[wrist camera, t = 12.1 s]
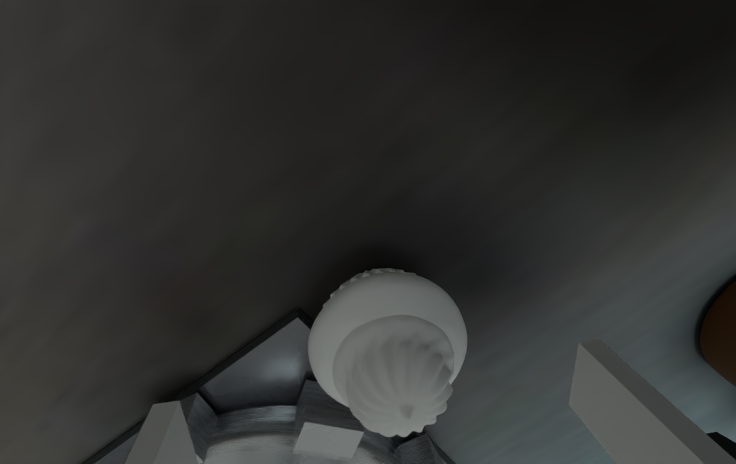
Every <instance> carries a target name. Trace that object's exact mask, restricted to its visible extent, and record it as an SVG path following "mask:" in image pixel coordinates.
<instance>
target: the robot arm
mask: <svg viewBox="0 0 736 464" xmlns="http://www.w3.org/2000/svg"><path fill="white" fill-rule="evenodd" d="M569 406H570V407H571V408H572V409H573V411H574V412H575V413H576V414H577V416H578V417H579V418H580V419H581V421H582V422H583V423H584V424H585V426H586V427H587V428H588V429H589V431H590V432H591V433H592V434H593V436H594V437H595V438H596V439H597V441H598V442H599V443H600V444H601V446H602V447H603V448H604V449H605V451H606V452H607V453H608V454H609V455H610V457H611V458H612V459H613V460H614V462H615V463H616V464H736V443H735V442H733V441H731V440H730V439H728V438H726V437H724V436H723V435H721V434H719V433H718V432H713V433H708V434H706V433H704V432H703V431H702V430H701V429H700V428H699V427H698V426H697V425H695V424H694V423H693V422H692V421H691V420H690V419H689V418H688V417H686V416H685V415H684V414H683V413H682V412H681V411H680V410H679V409H677V408H676V407H675V406H674V405H673V404H672V403H671V402H669V401H668V400H667V399H666V398H665V397H664V396H663V395H662V394H660V393H659V392H658V391H657V390H656V389H655V388H654V387H653V386H651V385H650V384H649V383H648V382H647V381H646V380H645V379H644V378H642V377H641V376H640V375H639V374H638V373H637V372H636V371H635V370H633V369H632V368H631V367H630V366H629V365H628V364H627V363H625V362H624V361H623V360H622V359H621V358H620V357H619V356H618V355H616V354H615V353H614V352H613V351H612V350H611V349H610V348H609V347H607V346H606V345H605V344H604V343H603V342H602V341H601V340H593V341H586V342H579V345H578V351H577V357H576V363H575V368H574V374H573V380H572V386H571V392H570V398H569ZM124 464H199V463H198V460H197V457H196V453H195V450H194V447H193V443H192V440H191V437H190V434H189V430H188V427H187V424H186V421H185V417H184V414H183V411H182V407H181V404H180V401H173V402H166V403H159V404H153V406H152V408H151V410H150V412H149V414H148V416H147V418H146V420H145V422H144V424H143V426H142V428H141V430H140V432H139V434H138V437H137V439H136V441H135V443H134V445H133V447H132V449H131V451H130V453H129V455H128V457H127V459H126V461H125V463H124Z"/></svg>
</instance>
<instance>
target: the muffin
mask: <svg viewBox="0 0 736 464" xmlns="http://www.w3.org/2000/svg"><path fill="white" fill-rule="evenodd" d="M330 297H331V298H330V299H329V300H328V301H327V302H326V303H324V304H323V309H322V310H321V312H320V313H319V315H318V316H317V318H316V320H315V322H314V324H313V326H312V328H311V331H310V335H309V340H308V356H309V361H310V365H311V368H312V371H313V373H314V375H315V378H316V379H317V381H318V383H319V384H320V386H321V387H322V388H323V390H324V391H325V392H326V393H327V394H328V395H330V396H331V397H332V398H333V399H335V400H336V401H338V402H340V403H341V404H343V405H345V406H347V407H349V408H350V411H351V412H352V414H353V415H354V416H355V417H356V418H357V419H358V420H360V422H361V424H362V425H363V426H364V427H365V428H367V429H368V430H370V431H372V432H377V433H380V434H382V435H384V436H386V437H392V436H395V435H396V434H397V435H399V436H401V437H406V436H408V435H409V434H410V433H411V432H412V431H416V432H419V433H420V432H422V430H423V428H424V426H425V425H431V424H434V423H435V422H436V415H439V414H442V413H443V412H445V410H446V409H447V403H446V400H447V399H448V398H449V397H450V396H451V394H452V392H453V389H452V387H451V383H452V382H453V381H454V379H455V378H456V376H457V375H458V373H459V371H460V369H461V367H462V364H463V362H464V359H465V355H466V350H467V332H466V327H465V324H464V320H463V318H462V315H461V313H460V311H459V309H458V307H457V305H456V304H455V302H454V301H453V300H452V298H451V297H450V296H449V295H448V294H447V293H446V292H445V291H444V290H443V289H442V288H440V287H439V286H438V285H436V284H435V283H433V282H431V281H430V280H428V279H425V278H423V277H420V276H417V275H416V274H415V273H409V272H404V270H400V269H392V268H379V269H372V270H371V271H368V270H366V271H365V272H364V273H359V274H357V275H356V276H354V277H352V278H351V279H349V280H347V281H346V282H344V283H343V284H341V285H340V288H339V289H337V290H336V291H334V292H333V293H332V294H331V295H330Z"/></svg>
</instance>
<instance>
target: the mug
mask: <svg viewBox="0 0 736 464" xmlns="http://www.w3.org/2000/svg"><path fill="white" fill-rule="evenodd" d="M700 346H701V350H702V353H703V355H704V357H705V359H706V361H707V362H708V363H709V364H710V365H711V366H712V368H713V369H715V370H716V371H717V372H718V373H719V374H720V375H721V376H723V377H724V378H725V379H727V380H728V381H729V382H730V383H732V384H733V385H735V386H736V280H735V281H734V282H733V283H732V284H730V285H729V286H728V287H727V288H726V289H725V290H724V291H723V292H722V293H721V294H720V295H719V296H718V297H717V299H716V300H715V301H714V303H713V304H712V305H711V307H710V308H709V310H708V312H707V314H706V316H705V318H704V321H703V324H702V327H701V332H700Z"/></svg>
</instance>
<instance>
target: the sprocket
mask: <svg viewBox="0 0 736 464" xmlns="http://www.w3.org/2000/svg"><path fill="white" fill-rule="evenodd" d="M180 404H181V407H182V411H183V414H184V417H185V421H186V424H187V427H188V430H189V434H190V437H191V440H192V443H193V447H194V450H195V453H196V457H197V460H198V463H199V464H444V463H443V461H442V460H441V458H440V456H439V454H438V453H437V451H436V449H435V447H434V445H433V444H432V442H431V440H430V438H429V437H428V435H427V433H426V434H424V435H422V436H419V437H417V438H415V439H412V440H410V441H408V442H406V443H403V444H401V445H399V446H398V445H397V444H396V443H395V442H394V441H393V440H392V439H391V438H390V437H386V436H384V435H382V434H380V433H377V432H372V431H370V430H368V429H367V428H365V427H364V426H363V425H362V424H361V422H360V420H358V419H357V418H356V417H355V416H354V415H353V414H352V412H351V411H350V408H349V407H347V406H345V405H343V404H341V403H340V402H338V401H336V400H335V399H333V398H332V397H331V396H330V395H328V394H327V393H326V392H325V391H324V390H323V388H322V387H321V386H320V384H319V383H318V382H315V381H310V380H306V381H305V384H304V386H303V389H302V392H301V394H300V397H299V399H298V402H297V404H296V406H282V405H278V406H264V407H254V408H248V409H242V410H237V411H232V412H228V413H225V414H221V415H217V414H216V413H215V412H214V411H213V410H212V409H211V408H210V406H209V405H208V404H207V403H206V402H205V401H204V399H203V398H202V397H201V396H200V395H199V394H198V393H195V394H193V395H191V396H189V397H186V398H184V399H182V400H180ZM147 416H148V415H147ZM146 418H147V417H146ZM145 420H146V419H145ZM144 422H145V421H144ZM143 424H144V423H143ZM142 426H143V425H142ZM141 428H142V427H141ZM140 430H141V429H140ZM139 432H140V431H139ZM138 434H139V433H138ZM137 437H138V435H137ZM137 437H136V439H137ZM136 439H135V441H136ZM135 441H134V443H135ZM134 443H133V445H134ZM133 445H132V447H133ZM132 447H131V449H132ZM131 449H130V451H131ZM130 451H129V453H130ZM129 453H128V455H129ZM128 455H127V457H128ZM127 457H126V459H127ZM126 459H125V461H126ZM125 461H124V463H125ZM124 463H123V464H124Z"/></svg>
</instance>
